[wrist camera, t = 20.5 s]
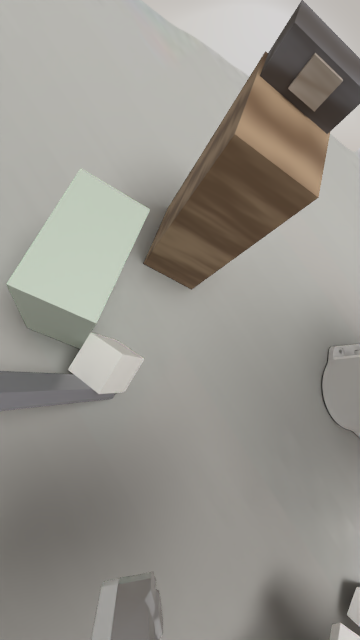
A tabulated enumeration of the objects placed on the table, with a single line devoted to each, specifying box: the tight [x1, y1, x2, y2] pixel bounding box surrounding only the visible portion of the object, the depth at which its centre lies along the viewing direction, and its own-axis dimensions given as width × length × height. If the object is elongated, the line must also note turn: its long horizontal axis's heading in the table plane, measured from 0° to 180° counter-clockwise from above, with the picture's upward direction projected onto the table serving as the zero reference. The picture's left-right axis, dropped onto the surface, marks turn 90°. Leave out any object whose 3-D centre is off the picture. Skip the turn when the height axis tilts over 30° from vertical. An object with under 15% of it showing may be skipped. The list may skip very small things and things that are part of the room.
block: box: [6, 168, 150, 349], centre depth 31 cm, size 12×7×16 cm, turn 160°
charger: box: [0, 332, 144, 411], centre depth 28 cm, size 17×5×7 cm
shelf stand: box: [143, 0, 360, 289], centre depth 34 cm, size 12×9×29 cm
